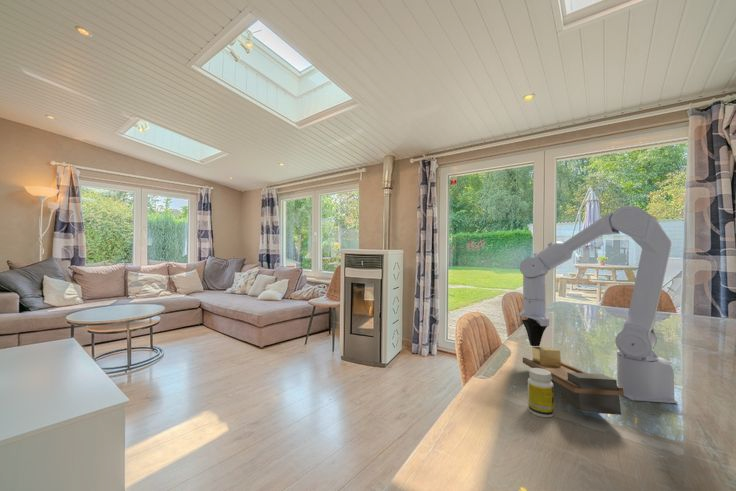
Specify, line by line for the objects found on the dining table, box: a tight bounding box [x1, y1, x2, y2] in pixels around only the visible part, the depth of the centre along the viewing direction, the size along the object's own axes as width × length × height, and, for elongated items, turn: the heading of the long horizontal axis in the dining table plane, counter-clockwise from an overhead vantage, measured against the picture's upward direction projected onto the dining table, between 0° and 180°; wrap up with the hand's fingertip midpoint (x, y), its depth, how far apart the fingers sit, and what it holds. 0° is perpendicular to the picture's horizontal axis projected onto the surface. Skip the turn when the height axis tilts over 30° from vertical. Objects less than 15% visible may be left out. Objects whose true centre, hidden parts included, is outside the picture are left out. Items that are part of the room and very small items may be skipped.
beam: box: [522, 357, 625, 416], centre depth 72 cm, size 9×28×6 cm, turn 172°
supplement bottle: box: [527, 367, 555, 418], centre depth 63 cm, size 5×5×8 cm
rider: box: [531, 346, 562, 367], centre depth 81 cm, size 5×5×4 cm
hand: (534, 345), depth 88 cm, fingers closed
